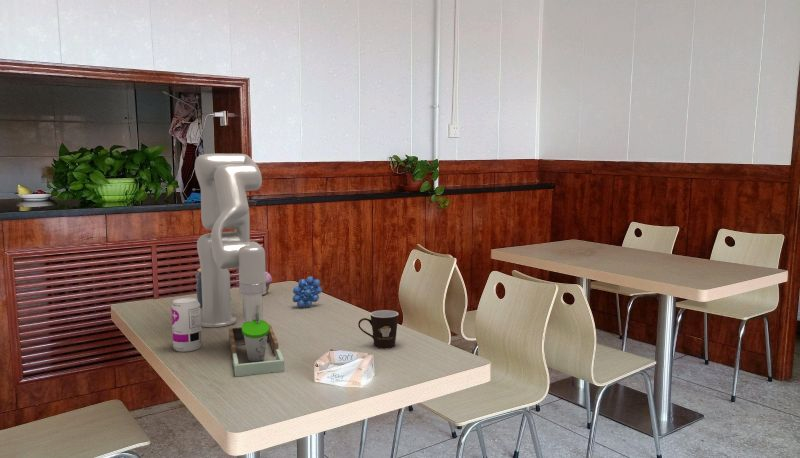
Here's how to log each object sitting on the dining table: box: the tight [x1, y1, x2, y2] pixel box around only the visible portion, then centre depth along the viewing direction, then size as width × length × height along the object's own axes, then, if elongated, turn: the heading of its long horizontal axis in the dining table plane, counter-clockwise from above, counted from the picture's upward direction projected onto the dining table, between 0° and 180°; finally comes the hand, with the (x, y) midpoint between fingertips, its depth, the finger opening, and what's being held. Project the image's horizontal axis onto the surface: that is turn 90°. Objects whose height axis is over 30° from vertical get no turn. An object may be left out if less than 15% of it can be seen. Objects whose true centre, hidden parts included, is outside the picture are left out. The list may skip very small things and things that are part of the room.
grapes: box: [292, 275, 323, 308], centre depth 240 cm, size 12×7×12 cm, turn 115°
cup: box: [241, 305, 270, 363], centre depth 177 cm, size 8×8×15 cm
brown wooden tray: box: [228, 324, 279, 361], centre depth 190 cm, size 20×13×4 cm, turn 18°
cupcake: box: [262, 271, 273, 296], centre depth 261 cm, size 9×9×10 cm
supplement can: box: [170, 296, 203, 353], centre depth 190 cm, size 8×8×15 cm
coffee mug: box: [357, 309, 399, 350], centre depth 193 cm, size 12×9×10 cm
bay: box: [232, 348, 285, 377], centre depth 173 cm, size 10×13×3 cm
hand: (254, 349), depth 184 cm, fingers closed
